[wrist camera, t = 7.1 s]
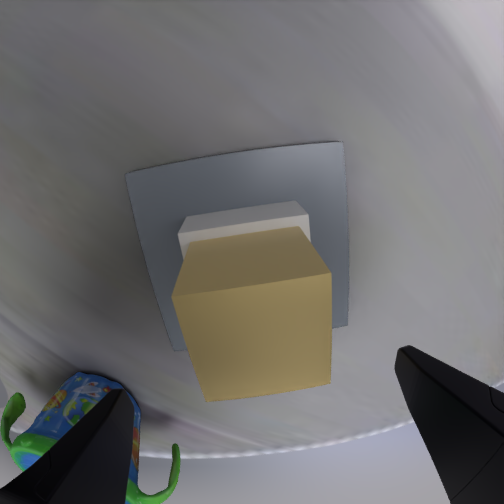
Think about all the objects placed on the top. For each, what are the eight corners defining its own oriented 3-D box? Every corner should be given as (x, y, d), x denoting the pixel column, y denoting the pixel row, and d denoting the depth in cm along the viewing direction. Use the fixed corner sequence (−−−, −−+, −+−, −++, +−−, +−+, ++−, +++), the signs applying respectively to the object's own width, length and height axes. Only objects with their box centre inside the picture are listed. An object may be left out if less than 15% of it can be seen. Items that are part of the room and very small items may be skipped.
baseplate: (336, 141, 16) (342, 141, 15) (343, 317, 21) (347, 325, 20) (130, 171, 16) (124, 173, 15) (175, 342, 21) (174, 351, 20)
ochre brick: (298, 225, 14) (331, 272, 9) (305, 316, 16) (330, 383, 11) (190, 241, 14) (171, 296, 9) (211, 330, 16) (206, 401, 11)
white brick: (295, 200, 17) (308, 214, 14) (303, 295, 19) (314, 322, 16) (186, 216, 16) (177, 233, 14) (207, 310, 19) (203, 339, 16)
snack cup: (37, 398, 23) (2, 469, 14) (25, 326, 20) (-35, 407, 10) (173, 448, 26) (165, 531, 17) (197, 389, 23) (189, 500, 13)
